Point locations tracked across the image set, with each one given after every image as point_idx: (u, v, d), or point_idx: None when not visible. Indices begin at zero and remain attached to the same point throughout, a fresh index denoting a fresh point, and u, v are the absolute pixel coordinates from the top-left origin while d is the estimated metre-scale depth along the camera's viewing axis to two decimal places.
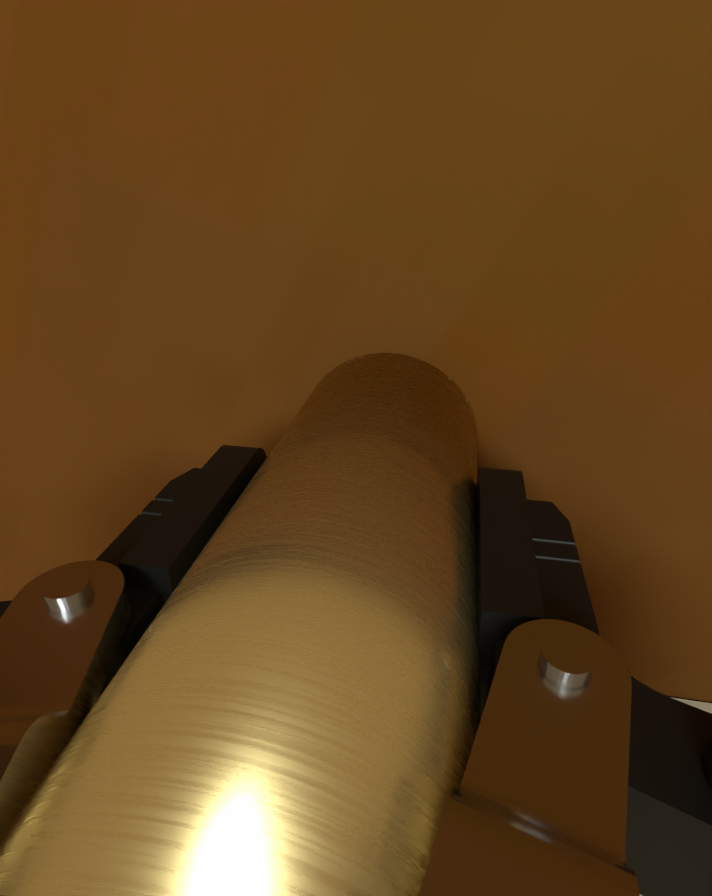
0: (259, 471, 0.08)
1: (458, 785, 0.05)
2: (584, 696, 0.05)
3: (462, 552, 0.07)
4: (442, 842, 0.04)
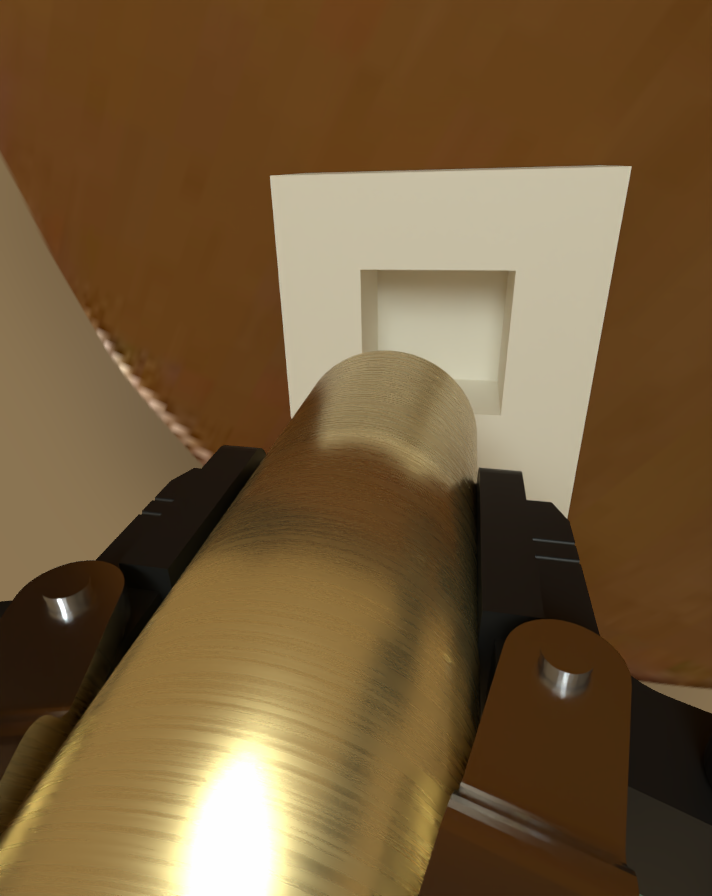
0: (259, 467, 0.08)
1: (458, 780, 0.04)
2: (584, 696, 0.05)
3: (462, 548, 0.07)
4: (442, 842, 0.04)
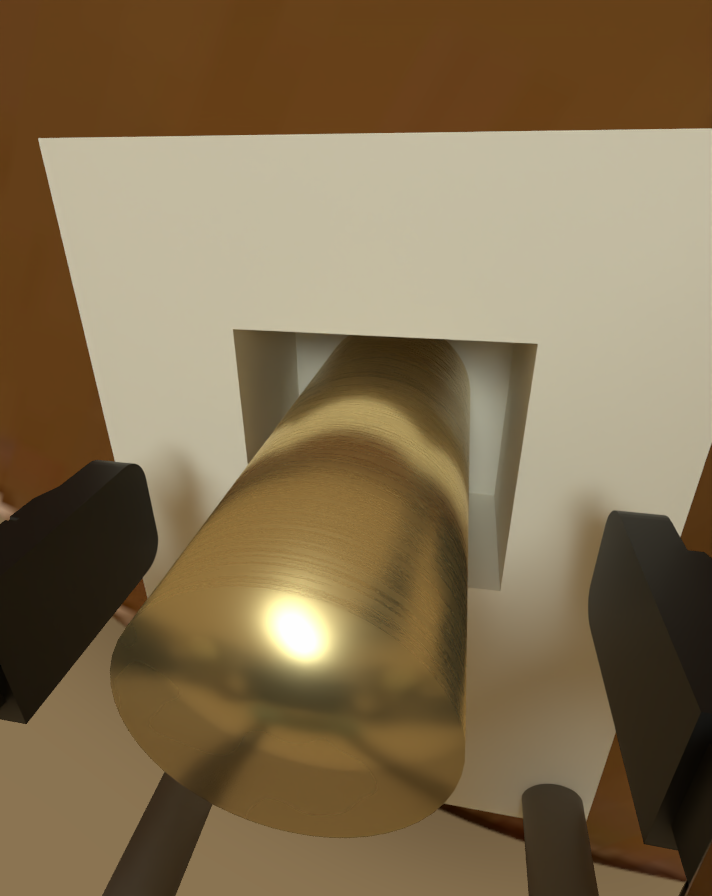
0: (294, 404, 0.11)
1: (450, 576, 0.07)
2: None
3: (455, 457, 0.09)
4: None
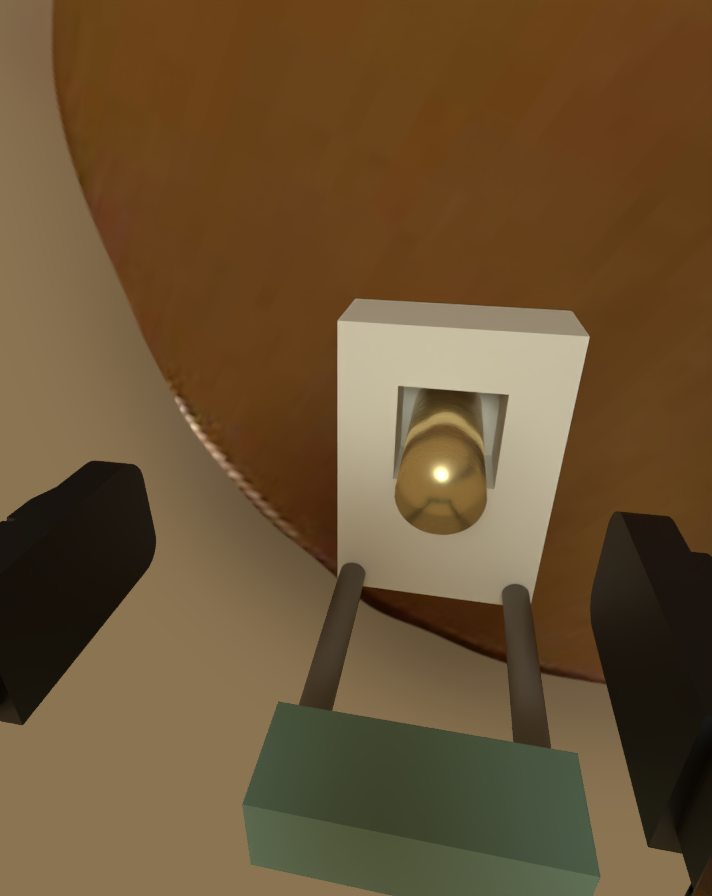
0: (419, 413, 0.28)
1: (482, 462, 0.25)
2: None
3: (480, 433, 0.27)
4: None
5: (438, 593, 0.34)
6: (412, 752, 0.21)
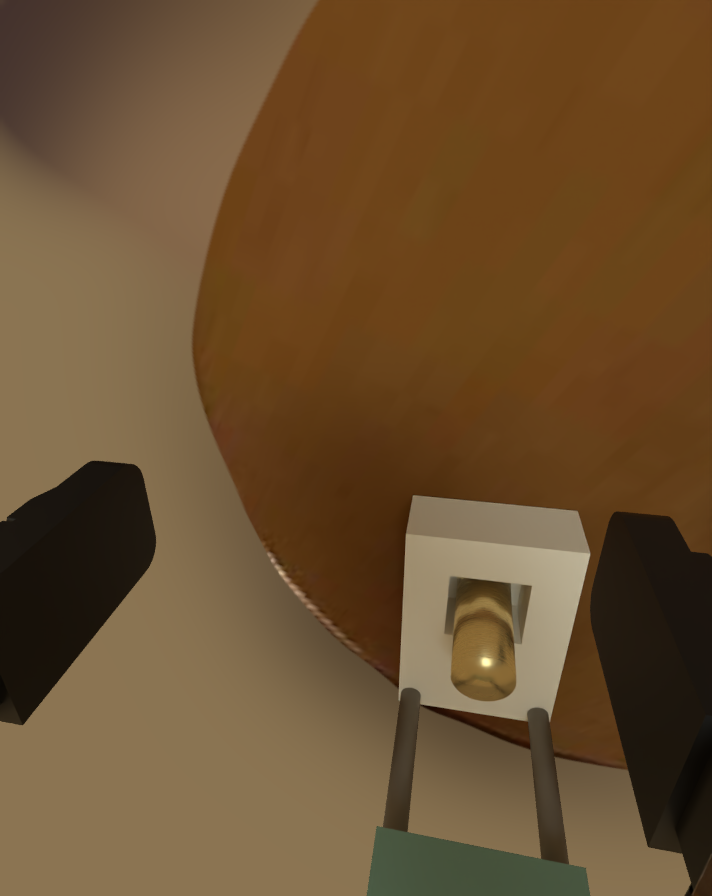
0: (465, 595, 0.39)
1: (512, 651, 0.35)
2: None
3: (510, 616, 0.37)
4: None
5: (477, 711, 0.44)
6: (473, 867, 0.31)
